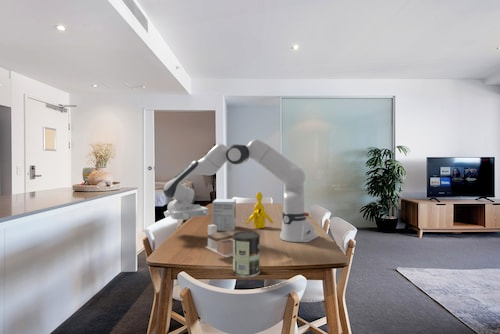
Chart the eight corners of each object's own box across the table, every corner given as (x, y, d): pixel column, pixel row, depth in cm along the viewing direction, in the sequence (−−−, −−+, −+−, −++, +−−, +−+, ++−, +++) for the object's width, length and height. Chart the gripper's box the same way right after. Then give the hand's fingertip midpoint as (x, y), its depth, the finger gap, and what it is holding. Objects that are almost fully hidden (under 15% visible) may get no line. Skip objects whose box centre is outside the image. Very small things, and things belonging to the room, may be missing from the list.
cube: (226, 249, 123) (226, 238, 123) (232, 252, 119) (233, 241, 119) (217, 252, 120) (217, 240, 120) (223, 255, 116) (223, 243, 116)
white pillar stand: (215, 246, 131) (215, 223, 131) (238, 256, 118) (238, 231, 117) (204, 249, 127) (204, 225, 127) (226, 260, 114) (226, 233, 113)
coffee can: (256, 265, 108) (257, 230, 108) (262, 276, 98) (262, 237, 98) (231, 267, 107) (231, 231, 106) (233, 278, 96) (234, 239, 96)
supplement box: (233, 231, 162) (233, 202, 161) (211, 230, 163) (211, 201, 162) (236, 226, 175) (236, 198, 175) (216, 225, 176) (216, 198, 175)
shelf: (235, 250, 127) (235, 229, 127) (244, 254, 122) (244, 232, 122) (207, 257, 118) (207, 235, 117) (216, 261, 112) (216, 238, 112)
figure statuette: (246, 229, 167) (246, 193, 167) (244, 226, 175) (245, 191, 174) (274, 228, 169) (274, 193, 168) (272, 225, 177) (272, 191, 176)
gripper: (166, 207, 141) (178, 211, 131) (201, 204, 155) (214, 207, 144) (166, 219, 141) (178, 224, 131) (201, 215, 155) (214, 219, 144)
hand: (197, 215), depth 138 cm, fingers open, 8 cm apart
